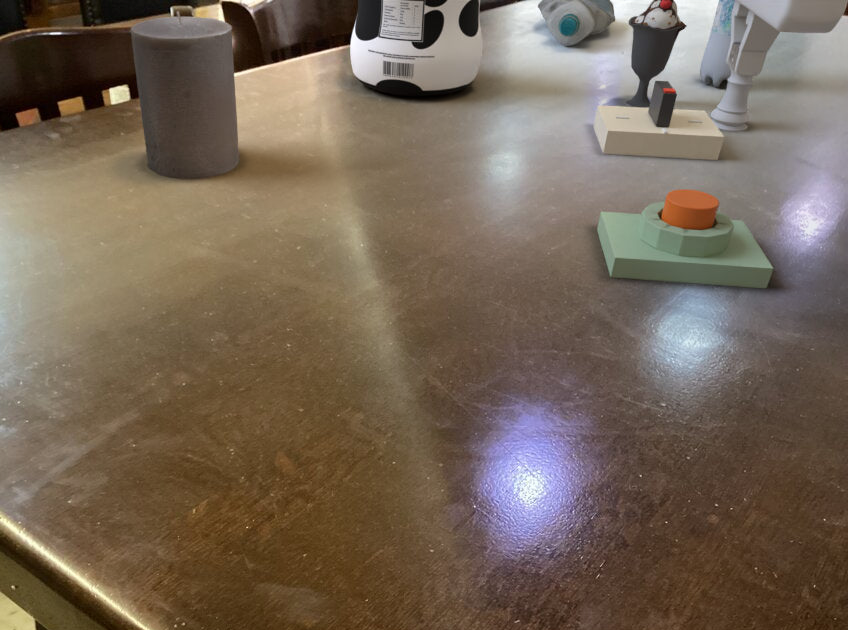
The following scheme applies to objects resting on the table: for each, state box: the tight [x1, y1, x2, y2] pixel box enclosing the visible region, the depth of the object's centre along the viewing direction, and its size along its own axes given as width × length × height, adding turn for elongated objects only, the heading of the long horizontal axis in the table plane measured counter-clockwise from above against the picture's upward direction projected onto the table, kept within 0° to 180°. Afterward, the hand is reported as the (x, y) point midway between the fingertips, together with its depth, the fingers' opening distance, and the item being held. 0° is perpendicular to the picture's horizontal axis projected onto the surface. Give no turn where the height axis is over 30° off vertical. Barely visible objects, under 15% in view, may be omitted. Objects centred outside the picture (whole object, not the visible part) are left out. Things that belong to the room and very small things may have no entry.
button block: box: [596, 200, 774, 289], centre depth 67 cm, size 12×9×4 cm
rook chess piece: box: [710, 66, 754, 132], centre depth 95 cm, size 4×4×8 cm
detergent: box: [537, 0, 616, 47], centre depth 134 cm, size 13×7×25 cm
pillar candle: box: [130, 10, 240, 180], centre depth 81 cm, size 10×10×15 cm
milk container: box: [349, 0, 484, 97], centre depth 105 cm, size 17×17×18 cm
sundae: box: [624, 0, 688, 108], centre depth 99 cm, size 7×7×15 cm
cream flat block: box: [593, 104, 725, 161], centre depth 91 cm, size 12×9×3 cm
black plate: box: [648, 80, 678, 127], centre depth 89 cm, size 5×1×4 cm, turn 172°
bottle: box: [699, 0, 735, 88], centre depth 107 cm, size 7×7×20 cm
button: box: [661, 188, 720, 230], centre depth 66 cm, size 4×4×2 cm
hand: (741, 71), depth 61 cm, fingers closed
